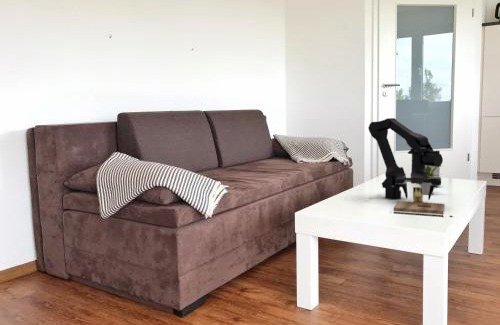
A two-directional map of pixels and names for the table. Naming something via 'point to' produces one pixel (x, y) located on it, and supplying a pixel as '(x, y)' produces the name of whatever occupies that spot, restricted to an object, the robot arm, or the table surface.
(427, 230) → the table surface
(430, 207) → the walnut board
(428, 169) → the house plant
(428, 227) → the table surface
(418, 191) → the brass peg
